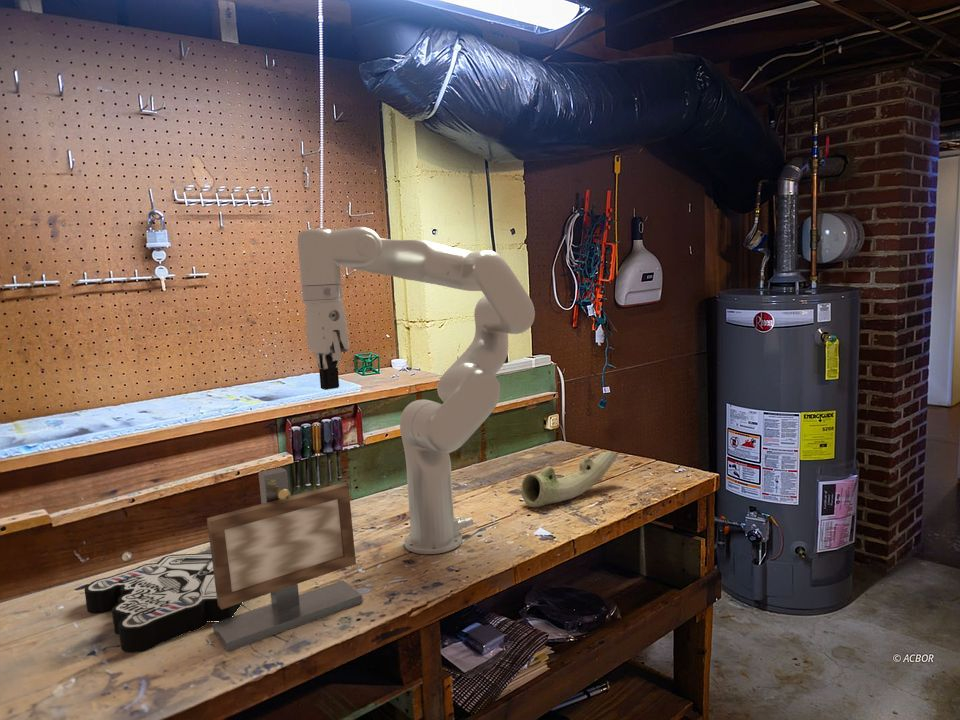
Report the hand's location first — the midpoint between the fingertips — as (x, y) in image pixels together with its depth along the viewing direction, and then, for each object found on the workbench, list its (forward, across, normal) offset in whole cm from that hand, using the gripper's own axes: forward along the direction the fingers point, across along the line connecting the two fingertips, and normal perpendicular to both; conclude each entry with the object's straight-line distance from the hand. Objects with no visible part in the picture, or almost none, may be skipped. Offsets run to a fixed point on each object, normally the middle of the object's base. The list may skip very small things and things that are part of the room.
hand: (330, 388), depth 134 cm
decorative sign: (+38, +8, +28) cm, 48 cm away
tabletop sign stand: (+37, -12, +16) cm, 42 cm away
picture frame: (+31, -13, +16) cm, 37 cm away
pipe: (+37, -1, -62) cm, 72 cm away
